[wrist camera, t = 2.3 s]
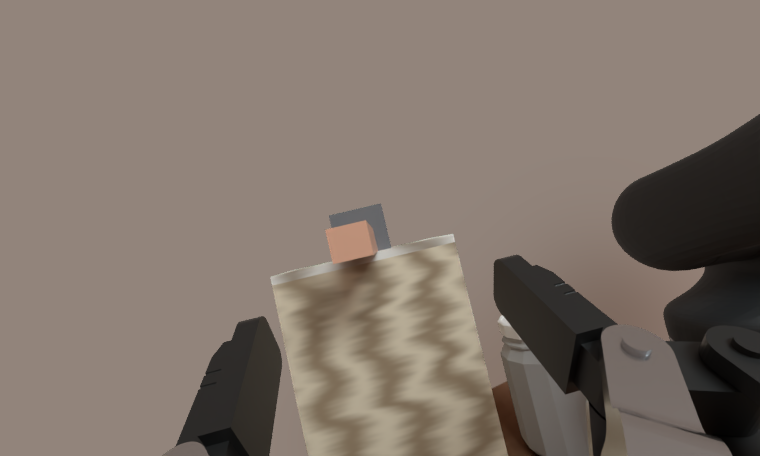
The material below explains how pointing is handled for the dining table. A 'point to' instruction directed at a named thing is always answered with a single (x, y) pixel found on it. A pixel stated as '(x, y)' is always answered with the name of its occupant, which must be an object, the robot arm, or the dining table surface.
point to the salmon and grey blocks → (357, 234)
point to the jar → (542, 402)
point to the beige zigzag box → (388, 355)
